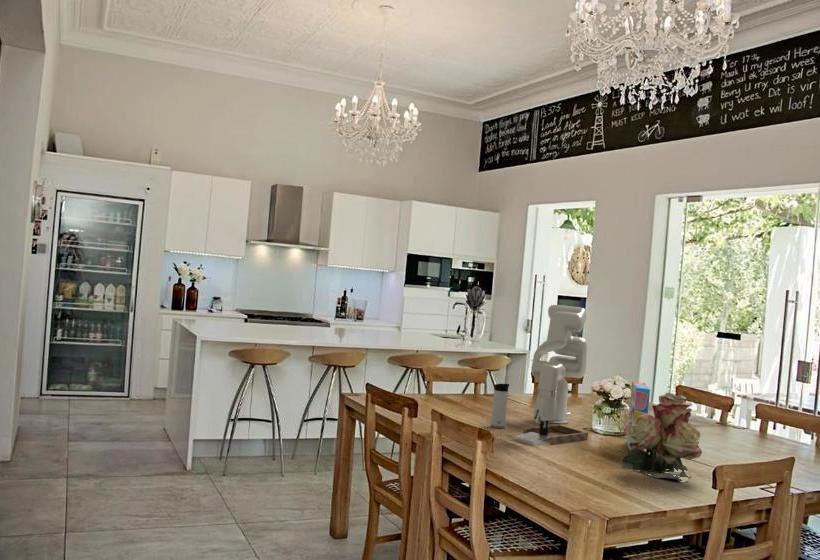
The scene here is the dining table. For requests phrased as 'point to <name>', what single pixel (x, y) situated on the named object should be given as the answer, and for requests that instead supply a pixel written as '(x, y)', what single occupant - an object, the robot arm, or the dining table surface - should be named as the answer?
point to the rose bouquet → (663, 439)
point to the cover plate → (533, 438)
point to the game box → (637, 404)
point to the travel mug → (499, 405)
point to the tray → (560, 434)
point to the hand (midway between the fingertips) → (543, 436)
